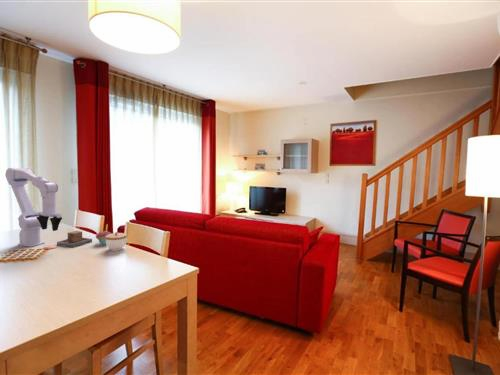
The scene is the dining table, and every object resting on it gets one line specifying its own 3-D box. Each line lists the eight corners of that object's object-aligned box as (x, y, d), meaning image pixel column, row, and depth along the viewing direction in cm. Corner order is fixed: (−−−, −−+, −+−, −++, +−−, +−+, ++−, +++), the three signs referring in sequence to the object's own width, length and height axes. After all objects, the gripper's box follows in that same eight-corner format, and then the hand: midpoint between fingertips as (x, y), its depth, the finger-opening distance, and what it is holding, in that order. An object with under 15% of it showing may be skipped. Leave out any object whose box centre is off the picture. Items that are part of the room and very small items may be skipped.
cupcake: (115, 241, 160) (115, 222, 159) (106, 245, 152) (106, 225, 151) (102, 240, 161) (101, 221, 160) (92, 245, 153) (92, 224, 152)
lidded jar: (118, 253, 141) (118, 235, 140) (100, 251, 143) (100, 233, 142) (131, 247, 151) (131, 230, 150) (114, 245, 153) (114, 229, 153)
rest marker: (40, 248, 143) (40, 248, 143) (51, 245, 149) (51, 245, 149) (48, 250, 142) (48, 249, 142) (59, 246, 148) (59, 246, 148)
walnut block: (67, 242, 153) (67, 232, 153) (75, 240, 158) (75, 230, 157) (74, 243, 152) (74, 233, 151) (82, 241, 156) (82, 231, 156)
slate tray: (57, 244, 151) (56, 241, 151) (76, 239, 162) (76, 236, 162) (73, 247, 147) (73, 244, 147) (92, 241, 159) (91, 238, 159)
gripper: (31, 204, 142) (32, 230, 143) (52, 206, 138) (52, 232, 139) (44, 203, 149) (45, 227, 150) (64, 205, 145) (65, 229, 146)
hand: (49, 229), depth 145 cm, fingers open, 7 cm apart
